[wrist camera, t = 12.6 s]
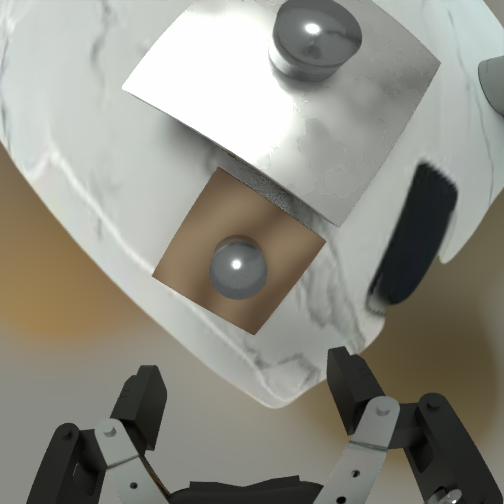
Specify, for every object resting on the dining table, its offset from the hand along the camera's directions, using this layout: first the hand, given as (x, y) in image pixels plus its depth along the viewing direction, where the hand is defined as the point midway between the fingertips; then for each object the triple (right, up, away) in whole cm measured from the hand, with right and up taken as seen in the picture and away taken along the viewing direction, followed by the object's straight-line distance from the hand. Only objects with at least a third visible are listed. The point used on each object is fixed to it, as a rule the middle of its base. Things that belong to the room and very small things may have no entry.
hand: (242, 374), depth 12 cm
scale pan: (+4, +20, +6) cm, 21 cm away
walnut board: (-1, +5, +17) cm, 18 cm away
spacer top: (-1, +5, +16) cm, 17 cm away
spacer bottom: (+4, +19, +3) cm, 20 cm away
